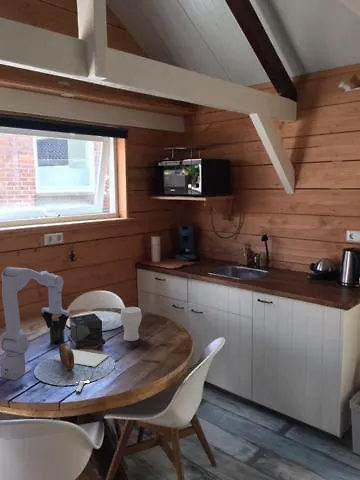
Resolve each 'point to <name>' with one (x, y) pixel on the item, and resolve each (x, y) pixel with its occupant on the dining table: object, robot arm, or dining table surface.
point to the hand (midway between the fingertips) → (56, 328)
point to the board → (86, 358)
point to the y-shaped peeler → (81, 386)
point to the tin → (66, 356)
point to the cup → (131, 322)
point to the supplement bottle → (56, 332)
